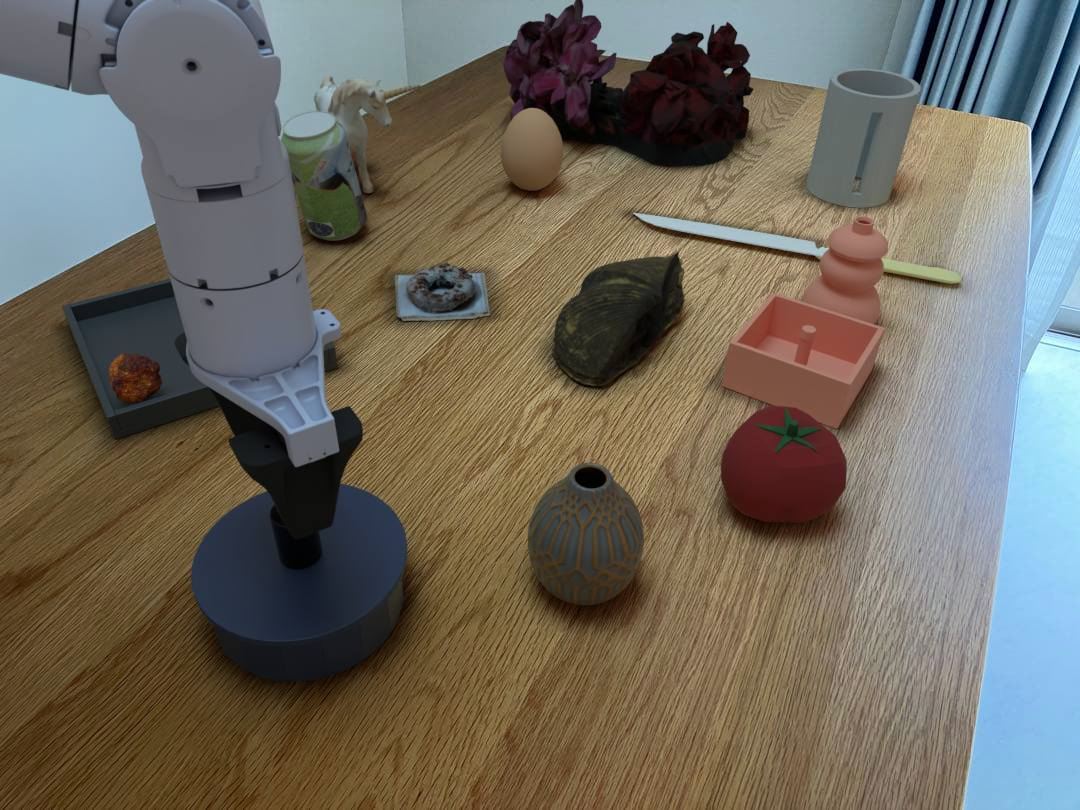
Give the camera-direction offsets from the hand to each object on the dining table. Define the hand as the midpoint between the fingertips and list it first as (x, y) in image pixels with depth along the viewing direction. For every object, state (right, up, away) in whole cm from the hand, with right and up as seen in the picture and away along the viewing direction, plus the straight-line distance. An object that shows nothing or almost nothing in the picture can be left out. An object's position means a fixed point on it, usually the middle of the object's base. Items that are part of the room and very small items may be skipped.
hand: (285, 483), depth 47 cm
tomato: (+29, -3, +14) cm, 33 cm away
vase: (+16, -7, +8) cm, 19 cm away
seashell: (+20, +10, +30) cm, 37 cm away
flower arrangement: (+23, +38, +65) cm, 79 cm away
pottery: (+37, +8, +28) cm, 47 cm away
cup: (+48, +28, +54) cm, 78 cm away
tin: (0, -8, +6) cm, 10 cm away
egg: (+13, +28, +52) cm, 60 cm away
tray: (-15, +9, +27) cm, 32 cm away
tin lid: (0, -5, +4) cm, 6 cm away
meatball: (-16, +4, +20) cm, 26 cm away
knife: (+38, +20, +42) cm, 60 cm away
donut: (+5, +14, +34) cm, 37 cm away
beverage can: (-7, +21, +43) cm, 48 cm away
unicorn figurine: (-5, +29, +52) cm, 60 cm away
